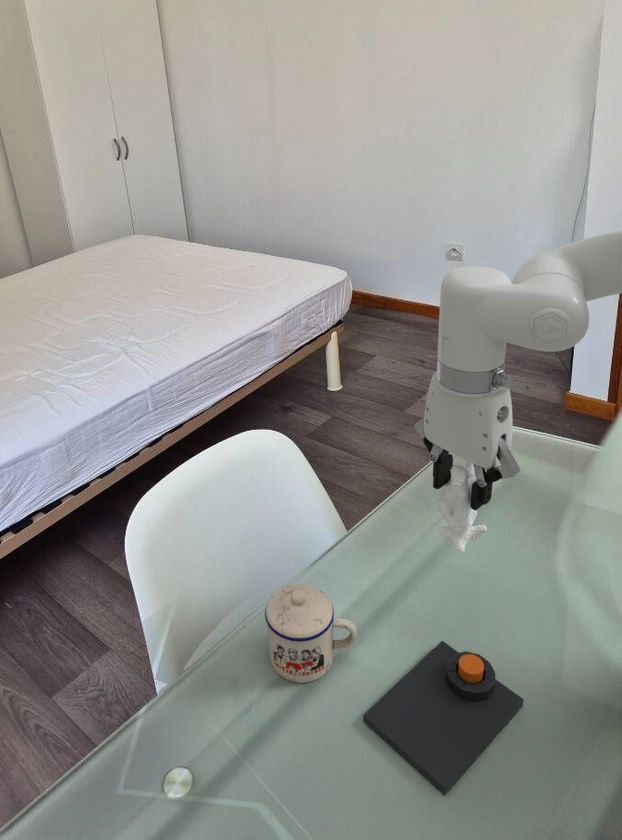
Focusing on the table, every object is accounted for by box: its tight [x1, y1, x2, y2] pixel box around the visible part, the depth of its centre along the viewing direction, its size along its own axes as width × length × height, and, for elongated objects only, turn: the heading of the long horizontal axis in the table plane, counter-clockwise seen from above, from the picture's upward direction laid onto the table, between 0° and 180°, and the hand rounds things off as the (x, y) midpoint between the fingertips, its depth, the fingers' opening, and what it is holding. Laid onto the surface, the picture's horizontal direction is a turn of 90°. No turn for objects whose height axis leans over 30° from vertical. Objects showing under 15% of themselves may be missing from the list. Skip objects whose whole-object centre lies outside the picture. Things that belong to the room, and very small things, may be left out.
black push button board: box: [362, 640, 524, 796], centre depth 85 cm, size 16×12×3 cm
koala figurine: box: [435, 460, 493, 553], centre depth 89 cm, size 8×7×12 cm
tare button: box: [458, 654, 484, 684], centre depth 87 cm, size 3×3×2 cm
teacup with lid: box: [264, 583, 357, 684], centre depth 92 cm, size 12×9×12 cm
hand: (460, 493), depth 89 cm, fingers closed on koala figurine, 5 cm apart
